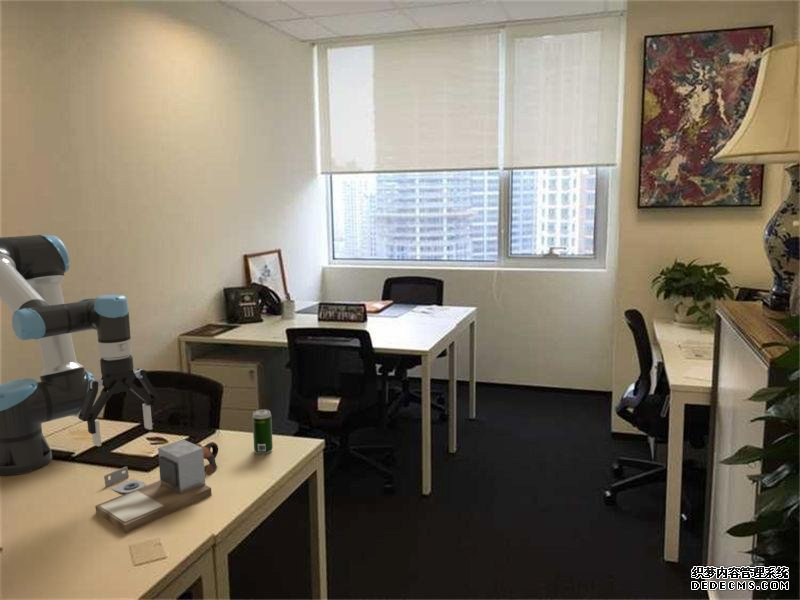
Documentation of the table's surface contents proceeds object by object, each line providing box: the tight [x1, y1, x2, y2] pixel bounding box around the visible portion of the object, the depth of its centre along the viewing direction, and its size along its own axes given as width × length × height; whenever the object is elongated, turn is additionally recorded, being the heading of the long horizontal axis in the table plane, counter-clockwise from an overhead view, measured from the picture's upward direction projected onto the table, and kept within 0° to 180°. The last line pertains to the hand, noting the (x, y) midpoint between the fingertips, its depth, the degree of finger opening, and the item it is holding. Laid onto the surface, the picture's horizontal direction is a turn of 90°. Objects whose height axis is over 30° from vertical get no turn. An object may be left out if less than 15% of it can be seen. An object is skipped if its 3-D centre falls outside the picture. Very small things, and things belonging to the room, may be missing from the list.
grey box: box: [157, 439, 206, 495], centre depth 157 cm, size 9×8×10 cm
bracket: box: [103, 466, 146, 494], centre depth 161 cm, size 7×10×4 cm, turn 57°
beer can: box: [252, 409, 274, 455], centre depth 182 cm, size 5×5×12 cm
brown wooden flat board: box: [95, 479, 212, 534], centre depth 152 cm, size 14×22×2 cm, turn 141°
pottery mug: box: [194, 441, 219, 476], centre depth 172 cm, size 12×10×8 cm
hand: (123, 436), depth 159 cm, fingers open, 13 cm apart
